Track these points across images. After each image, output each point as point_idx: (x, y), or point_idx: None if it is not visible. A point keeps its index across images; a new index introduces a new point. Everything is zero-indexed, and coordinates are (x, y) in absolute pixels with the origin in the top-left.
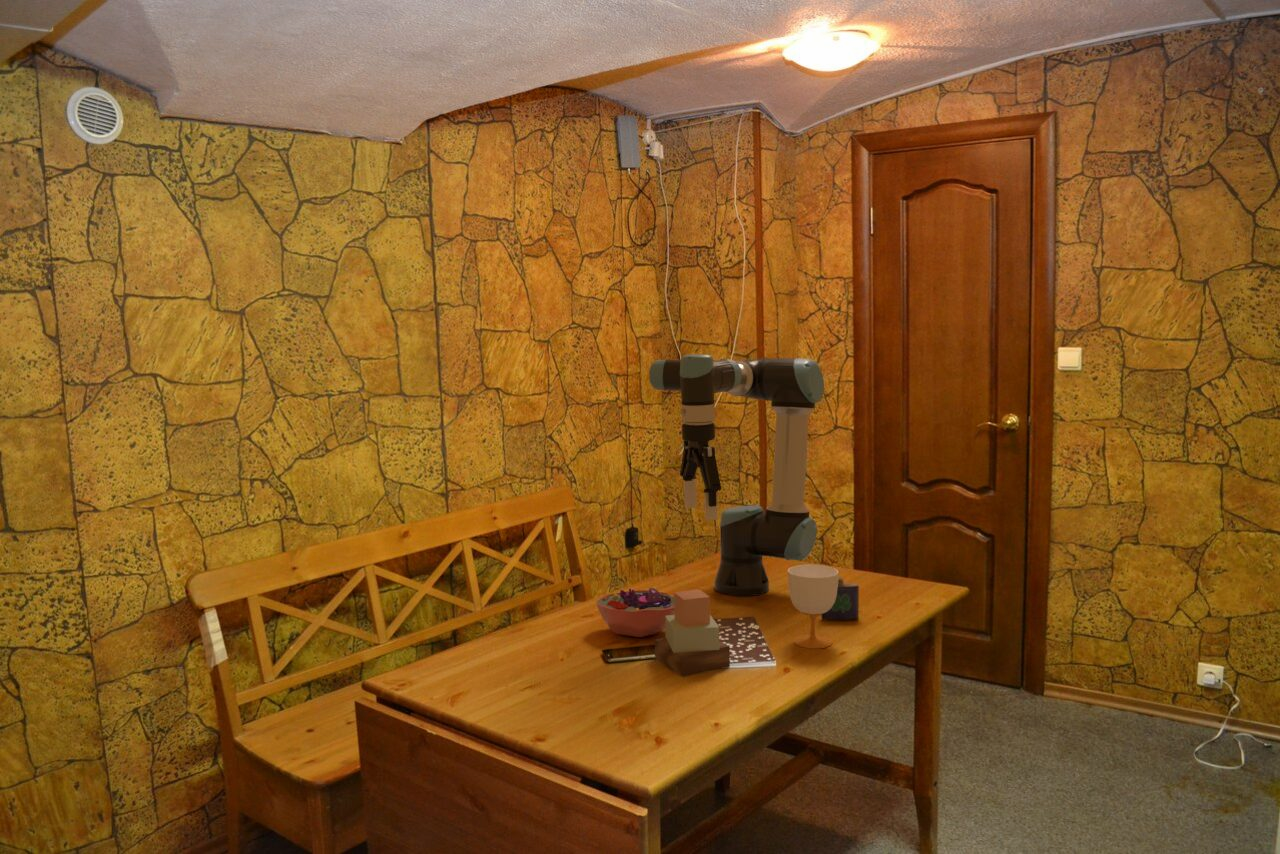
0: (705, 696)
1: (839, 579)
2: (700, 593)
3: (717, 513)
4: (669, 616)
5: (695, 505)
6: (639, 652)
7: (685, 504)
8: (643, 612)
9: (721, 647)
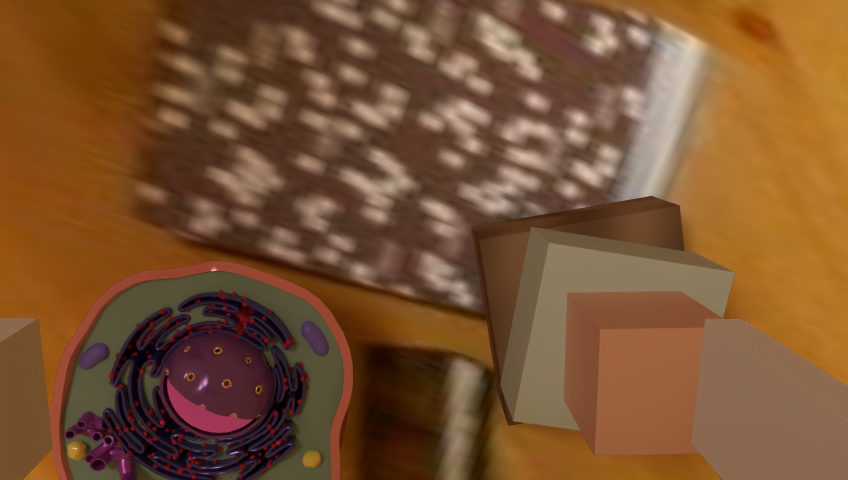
0: (829, 352)
1: None
2: (666, 348)
3: (782, 345)
4: (529, 409)
5: (24, 336)
6: (419, 421)
7: (21, 474)
8: (339, 439)
9: (676, 237)
